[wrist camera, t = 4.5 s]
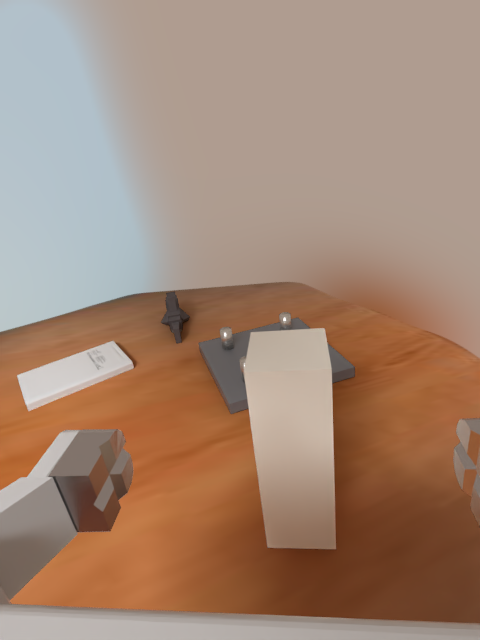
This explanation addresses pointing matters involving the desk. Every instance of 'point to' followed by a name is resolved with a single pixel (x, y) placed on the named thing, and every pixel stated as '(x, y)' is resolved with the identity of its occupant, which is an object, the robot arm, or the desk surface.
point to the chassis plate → (231, 355)
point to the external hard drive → (72, 374)
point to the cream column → (293, 435)
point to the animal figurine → (174, 316)
